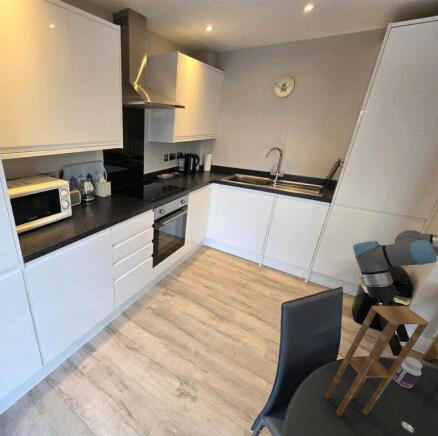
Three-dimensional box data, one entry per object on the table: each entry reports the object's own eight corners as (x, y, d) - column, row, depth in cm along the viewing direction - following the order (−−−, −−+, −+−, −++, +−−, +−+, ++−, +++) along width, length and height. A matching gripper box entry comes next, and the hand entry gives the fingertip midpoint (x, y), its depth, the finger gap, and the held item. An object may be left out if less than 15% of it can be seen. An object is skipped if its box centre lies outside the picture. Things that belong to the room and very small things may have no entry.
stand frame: (351, 395, 81) (404, 307, 66) (367, 415, 75) (428, 324, 61) (324, 396, 80) (371, 307, 66) (337, 416, 75) (392, 324, 60)
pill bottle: (415, 385, 85) (429, 366, 81) (406, 391, 83) (420, 371, 79) (396, 371, 90) (408, 353, 86) (387, 376, 88) (400, 357, 84)
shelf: (404, 307, 66) (405, 306, 66) (428, 324, 61) (429, 322, 61) (371, 307, 66) (372, 305, 65) (392, 324, 60) (393, 322, 60)
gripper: (373, 279, 97) (393, 335, 93) (356, 292, 82) (379, 360, 78) (399, 277, 91) (422, 337, 87) (386, 291, 76) (413, 365, 72)
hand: (402, 348), depth 82 cm, fingers open, 13 cm apart
